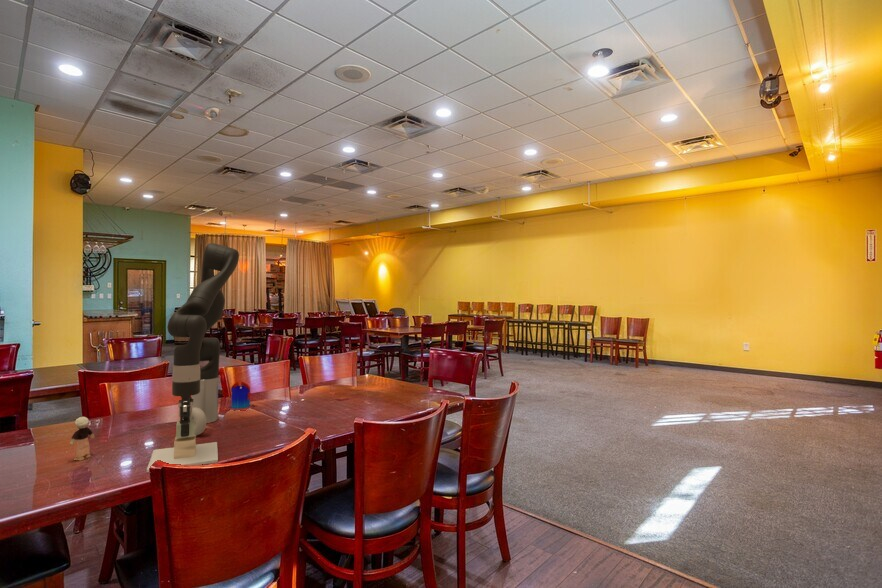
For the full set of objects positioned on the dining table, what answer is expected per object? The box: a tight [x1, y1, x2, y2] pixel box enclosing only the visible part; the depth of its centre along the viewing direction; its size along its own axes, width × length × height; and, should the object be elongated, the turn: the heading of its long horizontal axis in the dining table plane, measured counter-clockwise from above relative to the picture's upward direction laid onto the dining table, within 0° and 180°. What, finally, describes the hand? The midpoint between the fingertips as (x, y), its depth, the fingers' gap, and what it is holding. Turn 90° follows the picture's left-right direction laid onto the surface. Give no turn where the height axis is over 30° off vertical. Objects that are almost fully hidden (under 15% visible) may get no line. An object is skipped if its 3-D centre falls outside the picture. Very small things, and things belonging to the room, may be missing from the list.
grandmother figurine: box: [69, 416, 96, 461], centre depth 134 cm, size 8×4×13 cm, turn 5°
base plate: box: [146, 441, 219, 473], centre depth 136 cm, size 18×18×1 cm
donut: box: [190, 407, 207, 437], centre depth 158 cm, size 10×4×10 cm, turn 66°
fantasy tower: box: [222, 381, 258, 412], centre depth 197 cm, size 12×12×12 cm
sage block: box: [175, 419, 196, 438], centre depth 136 cm, size 5×5×4 cm
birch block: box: [173, 435, 197, 459], centre depth 136 cm, size 6×6×5 cm
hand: (185, 433), depth 136 cm, fingers closed on sage block, 5 cm apart
